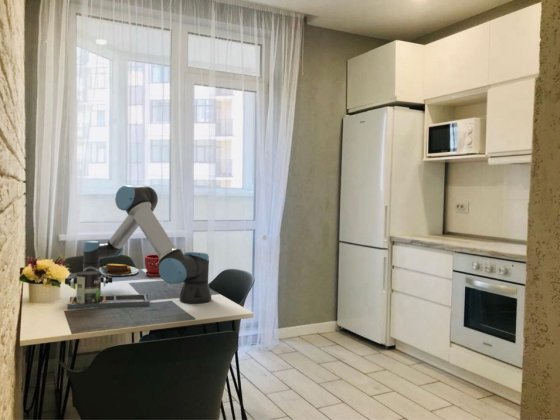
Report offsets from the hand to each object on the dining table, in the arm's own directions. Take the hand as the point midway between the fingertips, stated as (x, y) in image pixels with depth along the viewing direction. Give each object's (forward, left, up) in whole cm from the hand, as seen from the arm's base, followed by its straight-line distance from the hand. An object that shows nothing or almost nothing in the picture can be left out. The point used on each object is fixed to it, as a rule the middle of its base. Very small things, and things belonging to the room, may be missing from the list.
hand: (88, 284), depth 211 cm
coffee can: (+1, -1, -9) cm, 10 cm away
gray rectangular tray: (-5, -8, -9) cm, 13 cm away
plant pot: (+27, -73, -10) cm, 78 cm away
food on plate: (+49, -64, -10) cm, 81 cm away
